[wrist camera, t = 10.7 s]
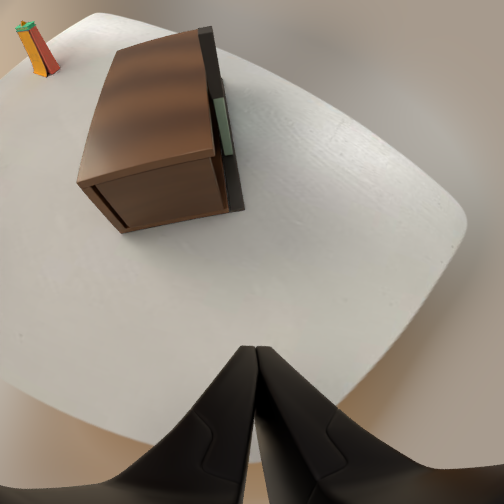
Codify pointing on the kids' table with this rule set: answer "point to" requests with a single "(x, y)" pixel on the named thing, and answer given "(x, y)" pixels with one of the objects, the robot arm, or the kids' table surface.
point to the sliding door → (215, 84)
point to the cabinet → (158, 140)
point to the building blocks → (37, 49)
